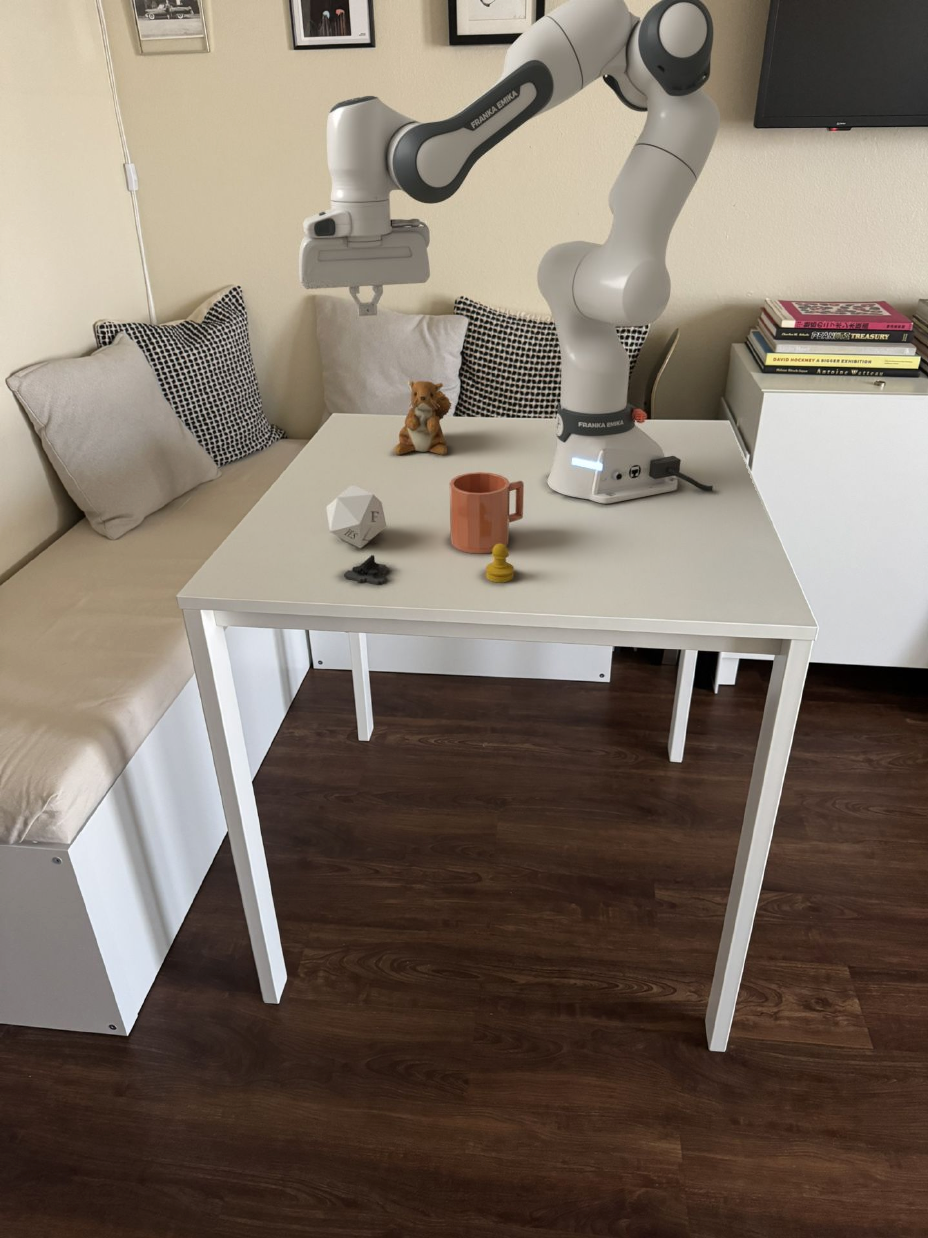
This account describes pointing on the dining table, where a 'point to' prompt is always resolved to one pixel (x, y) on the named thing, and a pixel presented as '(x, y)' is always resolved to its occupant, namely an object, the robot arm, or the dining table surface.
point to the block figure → (368, 572)
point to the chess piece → (499, 565)
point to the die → (356, 516)
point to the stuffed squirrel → (424, 420)
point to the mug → (482, 511)
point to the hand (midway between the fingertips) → (367, 315)
